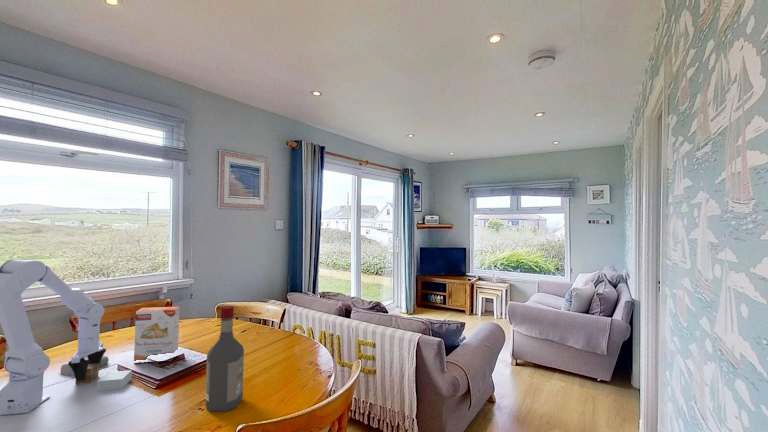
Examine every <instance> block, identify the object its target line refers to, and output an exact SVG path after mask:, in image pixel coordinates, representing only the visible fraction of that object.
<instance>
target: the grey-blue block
mask: <svg viewBox="0 0 768 432" xmlns="http://www.w3.org/2000/svg"><path fill="white" fill-rule="evenodd" d="M132 376H133V375H132V369H131V370H129V369H128V370H119V371H107V373H106V374H105V375H103V376H102V377H101V378H100V379H98V380H97V382H96V383H97V384H96V385H97V388H96V391H97V392H99V391H100V392H101V391H112V390H122V389H123V388H125V387H126V385H127V384H128V383H129V382H130V381H131V380H132Z"/></svg>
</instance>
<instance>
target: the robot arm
mask: <svg viewBox="0 0 768 432" xmlns="http://www.w3.org/2000/svg"><path fill="white" fill-rule="evenodd" d="M35 283H40V284H42V285H44V286H45V287H47V288H48V289H49V290H51V291H53V292H54V293H55V294H57V295H59V296H60V298H59V300H60V301H59V302H60V303H61V304H63V305H64V306H66V308H69V309H70V310H71V311H73V315H74V317H75V318H78V326H77V327H78V328H77V329H78V332H77V334H78V335H77V350H76V352H75V353H74V355H72V357H71V360H70V361H68V363H67V364H68V365H69V366H70V367H71V369H72V370H73V372H74V375H73V376H74V377H75V381H84V380H85V377H86V372H87V367H88V365H89V364H95V363H99V365H100V362H101V359H102V357H103V356H105V355H104V354H105V353H106V352H107V348H104V341H100V330H101V329H100V327H101V322H102V317H103V316H104V314H105V311H106V309H105V308H104V305H102V304H101V303H99V302H95V301H94V300H95V298H93V297H90V296H88V295H87V294H86V293H85V290H84V289H83V288H77V287H76V288H75V287H74V288H71V286H69V285H68V284H67V283H66V282H65V281H64V280H63V279H61V278H60V276H58V275H57V274H56V273H55V272H54V271H53V270H52V268H51V267H50V266H48V265H46V264H45V263H44V262H42V261H40V260H35V259H34V260H29V259H26V260H25V259H20V258H13V259H9V260H6V261H5V262H3V263H2V264H1V265H0V326H1V329H2V332H3V335H4V338H5V342H6V344H7V346H8V350H7V351H5V352H4V357H5V360H4V363H3V368H4V371H6V372H7V373H8V376H9V377H8V382H7V383H6V385H5V386H3V387H2V388H1V389H0V416H7V415H18V414H27V413H29V412H31V411H32V410H34V409H35V408H36V407H37V406H39V405H41V404H42V403H43V402H45V401H46V400H48V399H49V398H50V397H51V395H43V391H44V374H45V371H46V370H47V369H48V368H49V366H50V364H51V359H50V357H49V355H47V354H46V353H45V352H44V349H43V348H42V347H41V346H40V345H39V344H38V343H37V342H36V341H35V338H34V335H33V331H32V328H31V324H30V321H29V318H28V314H27V312H26V308H25V305H24V302H23V299H22V294H23V293H24V291H25V290H26V289H28V288H30V287H31V286H33V285H34V284H35ZM85 357H88V360H85V359H84V358H85Z"/></svg>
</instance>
